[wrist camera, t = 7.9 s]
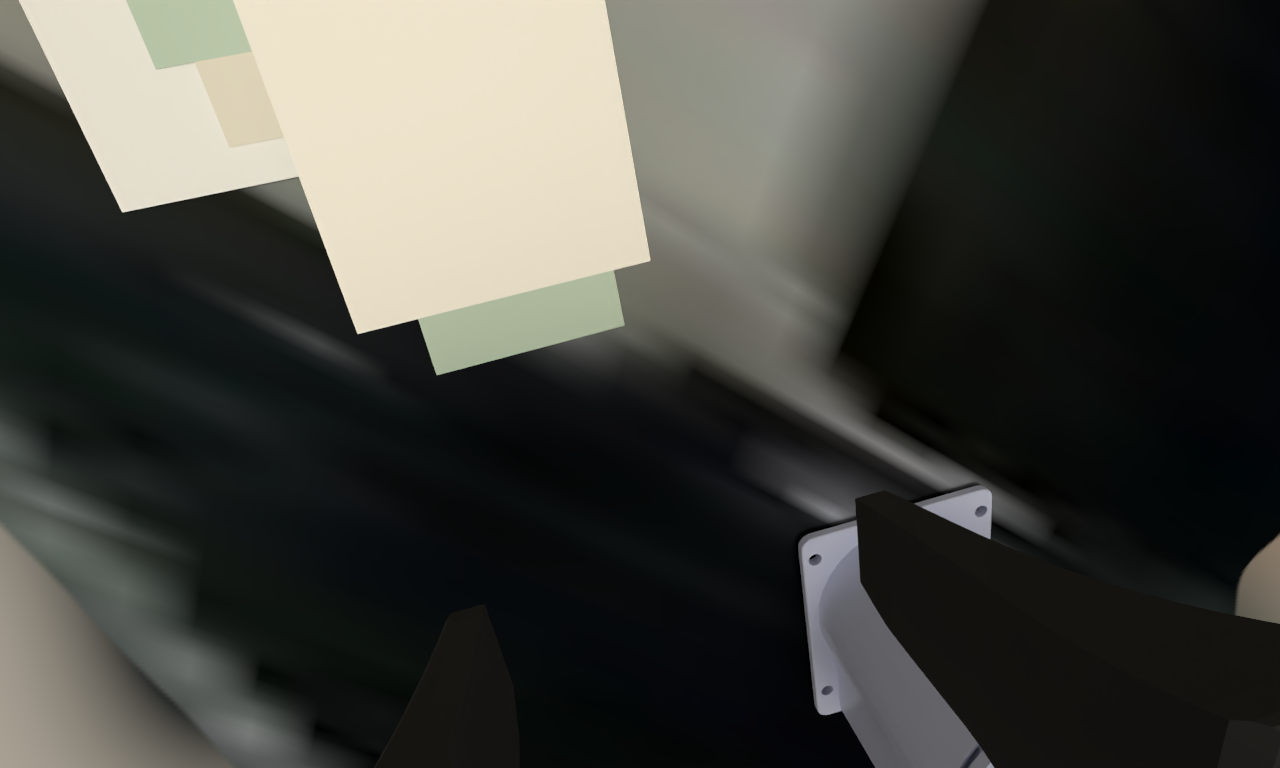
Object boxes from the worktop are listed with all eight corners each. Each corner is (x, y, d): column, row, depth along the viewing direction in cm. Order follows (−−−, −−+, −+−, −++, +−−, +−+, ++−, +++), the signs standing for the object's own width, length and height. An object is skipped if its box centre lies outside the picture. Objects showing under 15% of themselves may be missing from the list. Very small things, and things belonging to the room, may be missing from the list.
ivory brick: (586, 217, 15) (650, 261, 11) (381, 265, 14) (357, 334, 10) (538, -12, 13) (591, -76, 9) (300, 28, 13) (225, -20, 8)
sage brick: (583, 280, 21) (624, 325, 16) (436, 316, 20) (436, 375, 16) (508, -64, 17) (534, -126, 13) (324, -35, 16) (282, -92, 12)
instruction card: (434, 148, 19) (433, 149, 18) (125, 211, 18) (120, 212, 17) (358, -115, 16) (356, -119, 16) (-5, -58, 15) (-14, -61, 15)
